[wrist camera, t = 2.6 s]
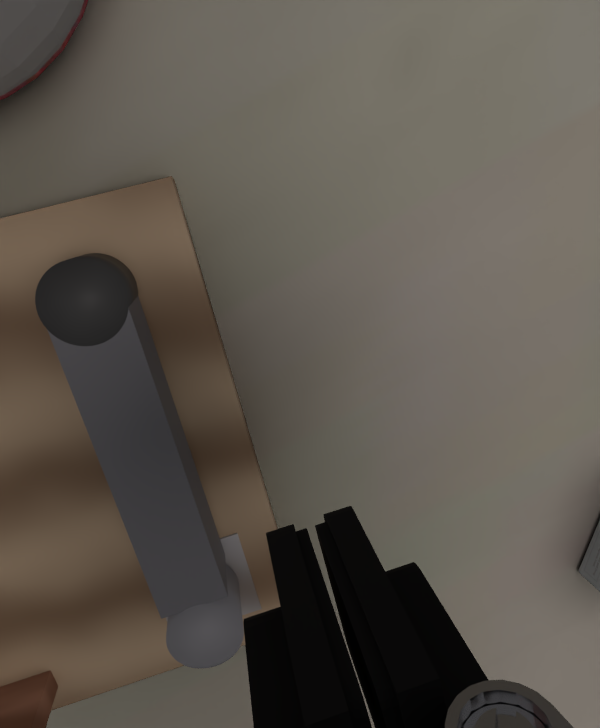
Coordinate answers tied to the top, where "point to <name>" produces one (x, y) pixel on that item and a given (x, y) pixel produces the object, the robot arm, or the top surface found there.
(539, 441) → the top surface
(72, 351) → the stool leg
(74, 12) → the citrus juicer
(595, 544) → the supplement box
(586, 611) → the top surface
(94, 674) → the flat wooden plank
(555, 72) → the top surface
